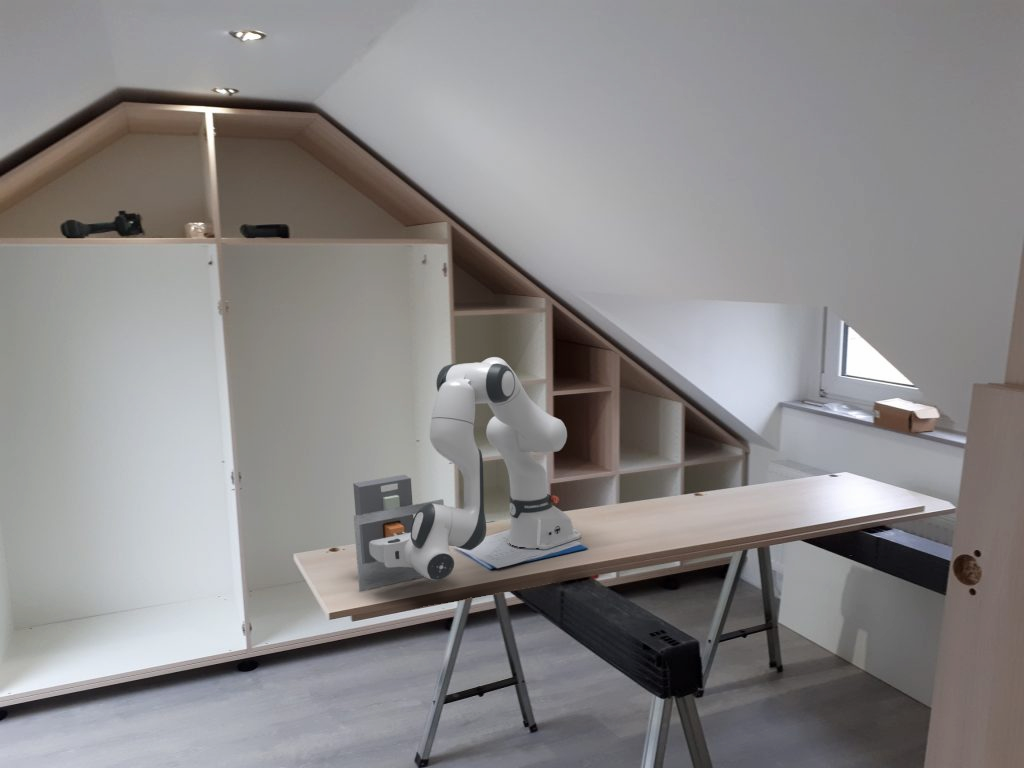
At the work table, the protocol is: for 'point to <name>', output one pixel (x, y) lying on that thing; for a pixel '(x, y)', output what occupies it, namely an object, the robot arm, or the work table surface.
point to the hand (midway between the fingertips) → (398, 535)
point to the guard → (377, 571)
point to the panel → (381, 507)
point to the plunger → (392, 528)
